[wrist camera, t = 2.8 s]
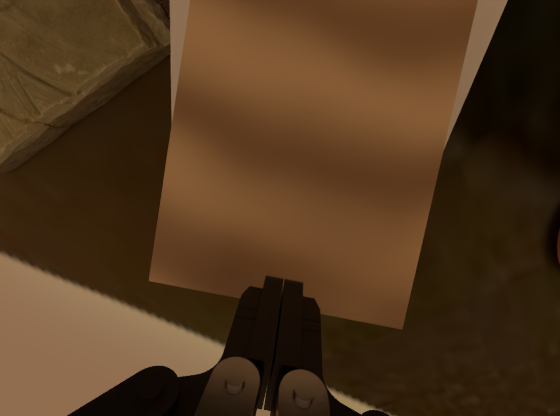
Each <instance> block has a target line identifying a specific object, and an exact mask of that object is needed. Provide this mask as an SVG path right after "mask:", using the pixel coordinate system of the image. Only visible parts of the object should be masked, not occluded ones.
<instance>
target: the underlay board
mask: <svg viewBox="0 0 560 416" xmlns="http://www.w3.org/2000/svg"><path fill="white" fill-rule="evenodd" d="M507 1H508V0H478V2H477V7H476V11H475V15H474V20H473V24H472V28H471V33H470V37H469V41H468V46H467V50H466V54H465V59H464V63H463V67H462V72H461V76H460V80H459V85H458V89H457V93H456V98H455V102H454V107H453V111H452V115H451V120H450V124H449V128H448V133H447V137H446V141H445V146H446V143H447V141H448V139H449V136H450V134H451V131H452V129H453V127H454V124H455V122H456V120H457V117H458V115H459V113H460V110H461V108H462V106H463V103H464V101H465V99H466V96H467V94H468V92H469V89H470V87H471V85H472V82H473V80H474V78H475V75H476V73H477V71H478V68H479V66H480V64H481V61H482V59H483V57H484V54H485V52H486V50H487V47H488V45H489V43H490V40H491V38H492V36H493V33H494V31H495V29H496V26H497V24H498V22H499V19H500V17H501V15H502V12H503V10H504V8H505V5H506V3H507ZM189 5H190V0H170V46H171V109H172V120H173V113H174V106H175V100H176V93H177V86H178V79H179V72H180V66H181V59H182V52H183V45H184V39H185V32H186V25H187V18H188V12H189ZM445 146H444V148H445Z"/></svg>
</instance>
